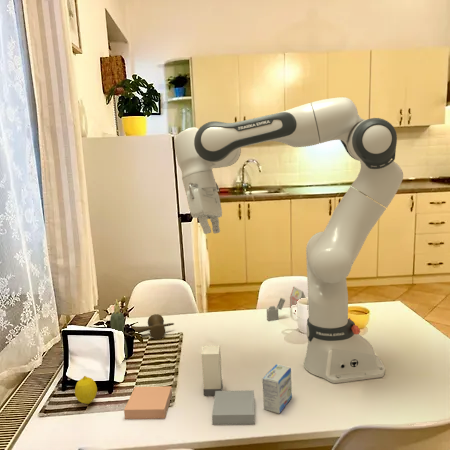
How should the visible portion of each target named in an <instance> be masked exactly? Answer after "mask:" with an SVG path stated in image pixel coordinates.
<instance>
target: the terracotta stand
mask: <svg viewBox="0 0 450 450" xmlns="http://www.w3.org/2000/svg"><path fill="white" fill-rule="evenodd" d="M172 387H173V386H170V385H167V386H166V385H165V386H163V385H162V386H161V385H160V386H135V387H133V390H132V393H131V394H130V397H129V399H127V400H128V401H127V403H126V405H125V407H124V409H123V412H124V413H123V414H124V419H125V420H143V419H144V420H148V419H150V420H151V419H152V420H153V419H154V420H155V419H156V420H158V419H166V417H167V413H168V409H169V408H170V407H169V406H170V403H171V401H170V400H172V398H173V388H172ZM171 397H172V398H171Z"/></svg>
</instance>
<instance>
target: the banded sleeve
mask: <svg viewBox="0 0 450 450" xmlns="http://www.w3.org/2000/svg"><path fill="white" fill-rule="evenodd" d="M201 367H202V381H203V397H215V391H223V386H224V385H223V376H222V374H223V373H222V360H221V345H204V346H202V350H201Z"/></svg>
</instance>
